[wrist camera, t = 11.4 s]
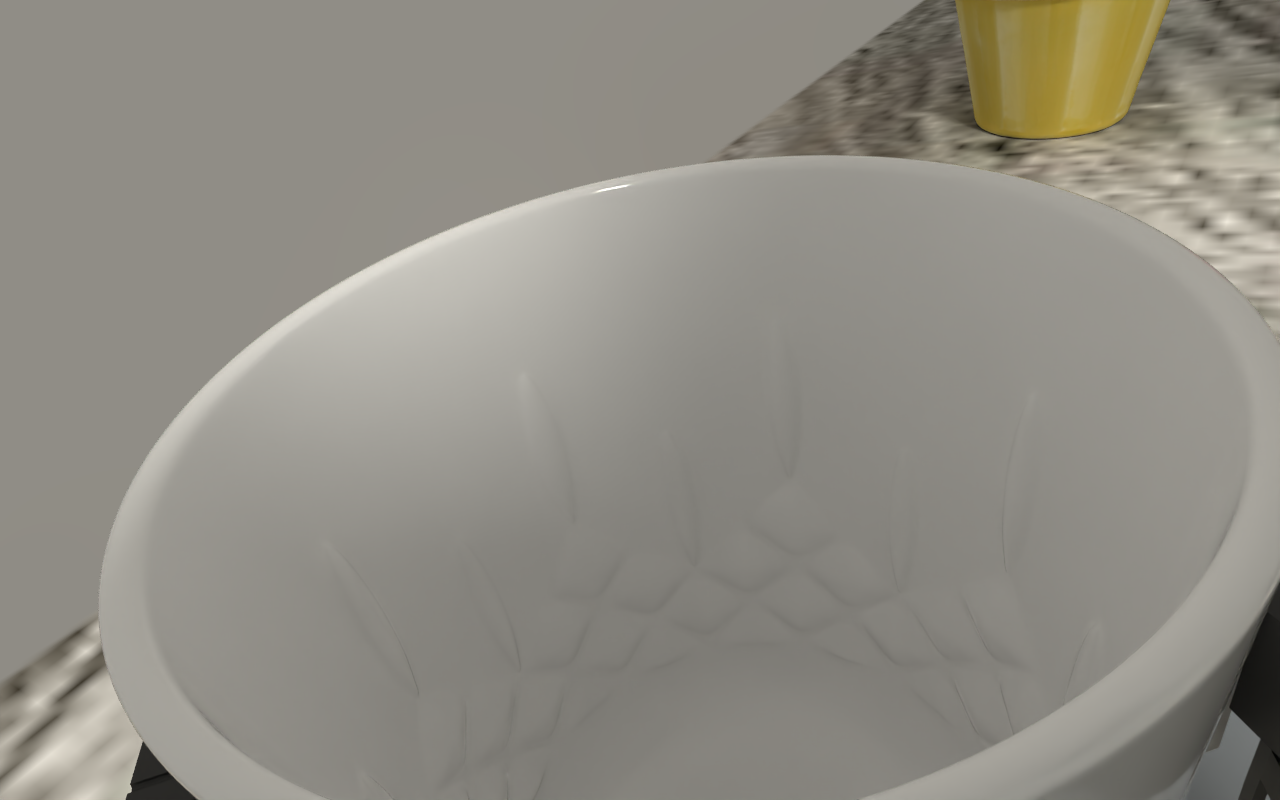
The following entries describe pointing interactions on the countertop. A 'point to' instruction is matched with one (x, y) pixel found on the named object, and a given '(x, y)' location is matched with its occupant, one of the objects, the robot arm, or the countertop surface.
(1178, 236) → the countertop surface
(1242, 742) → the letter board
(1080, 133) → the plant pot
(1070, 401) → the white cup
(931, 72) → the countertop surface
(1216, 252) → the countertop surface
